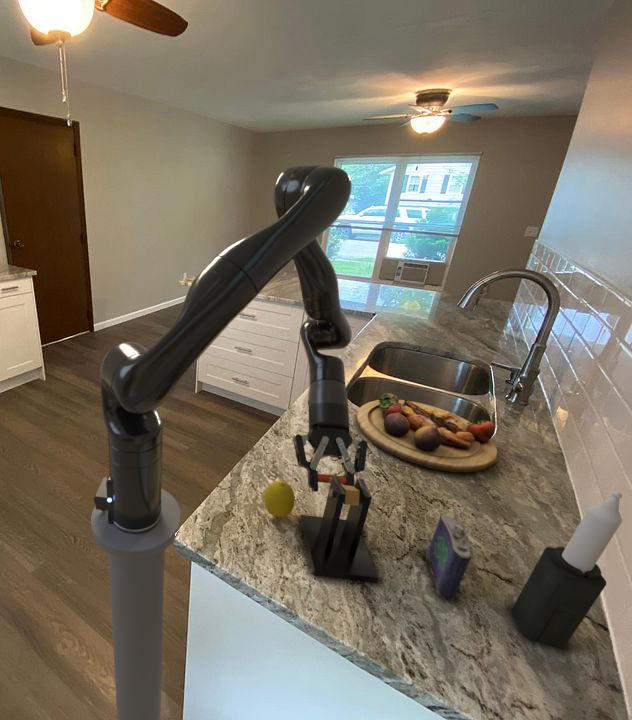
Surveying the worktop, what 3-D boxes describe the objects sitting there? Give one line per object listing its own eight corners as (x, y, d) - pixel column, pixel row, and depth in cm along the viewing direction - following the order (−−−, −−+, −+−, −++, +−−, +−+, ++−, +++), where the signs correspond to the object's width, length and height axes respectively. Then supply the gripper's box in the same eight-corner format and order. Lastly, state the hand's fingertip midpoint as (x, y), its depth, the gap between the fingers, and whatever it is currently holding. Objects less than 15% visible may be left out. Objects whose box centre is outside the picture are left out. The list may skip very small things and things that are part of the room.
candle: (524, 638, 55) (605, 501, 45) (508, 605, 59) (579, 474, 50) (568, 651, 53) (662, 512, 44) (548, 616, 58) (630, 483, 48)
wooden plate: (490, 428, 107) (500, 402, 104) (502, 494, 82) (516, 463, 79) (365, 395, 123) (371, 372, 120) (344, 443, 98) (350, 414, 95)
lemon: (294, 526, 72) (301, 493, 69) (265, 526, 72) (270, 492, 69) (286, 505, 77) (292, 472, 74) (259, 504, 77) (264, 472, 74)
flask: (423, 550, 68) (441, 503, 64) (442, 555, 67) (462, 508, 63) (438, 598, 60) (460, 547, 56) (459, 604, 59) (484, 553, 55)
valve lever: (314, 482, 74) (315, 470, 74) (343, 485, 74) (344, 473, 74) (334, 503, 62) (335, 488, 62) (369, 507, 62) (370, 492, 62)
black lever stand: (300, 519, 74) (312, 460, 69) (354, 525, 73) (370, 466, 68) (313, 575, 63) (328, 510, 58) (376, 583, 62) (398, 517, 57)
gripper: (296, 397, 76) (296, 487, 70) (372, 404, 75) (380, 496, 68) (288, 408, 83) (288, 490, 77) (357, 414, 82) (363, 498, 75)
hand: (331, 492), depth 72 cm, fingers closed on valve lever, 5 cm apart
